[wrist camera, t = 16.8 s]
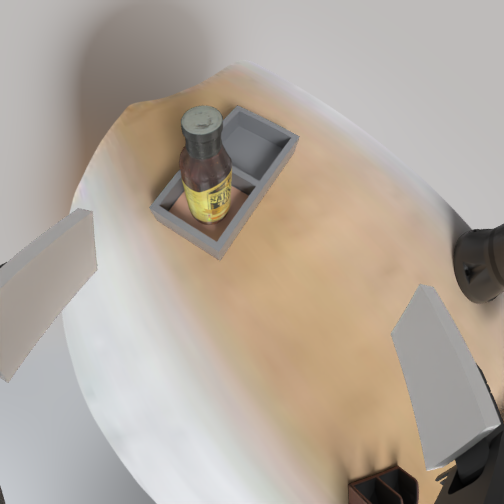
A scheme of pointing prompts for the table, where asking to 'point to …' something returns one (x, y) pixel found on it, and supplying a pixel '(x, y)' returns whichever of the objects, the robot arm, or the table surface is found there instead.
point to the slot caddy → (242, 185)
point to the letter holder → (385, 488)
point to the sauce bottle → (205, 165)
